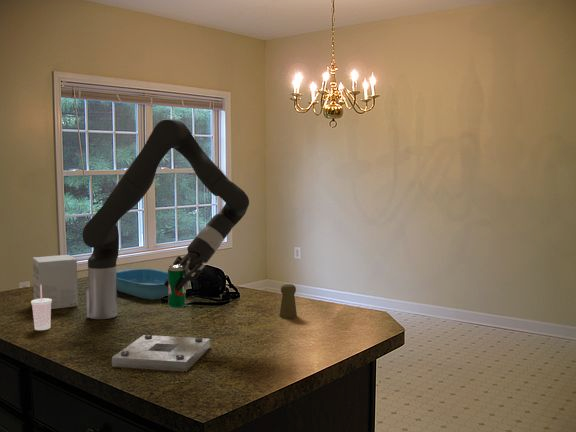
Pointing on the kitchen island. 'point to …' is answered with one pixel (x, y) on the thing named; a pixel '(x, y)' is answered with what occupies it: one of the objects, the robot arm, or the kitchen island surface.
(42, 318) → the beverage cup
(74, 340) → the kitchen island surface
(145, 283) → the casserole dish
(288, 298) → the cork
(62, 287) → the supplement box
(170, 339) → the socket plate
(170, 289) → the soda can
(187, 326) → the kitchen island surface
